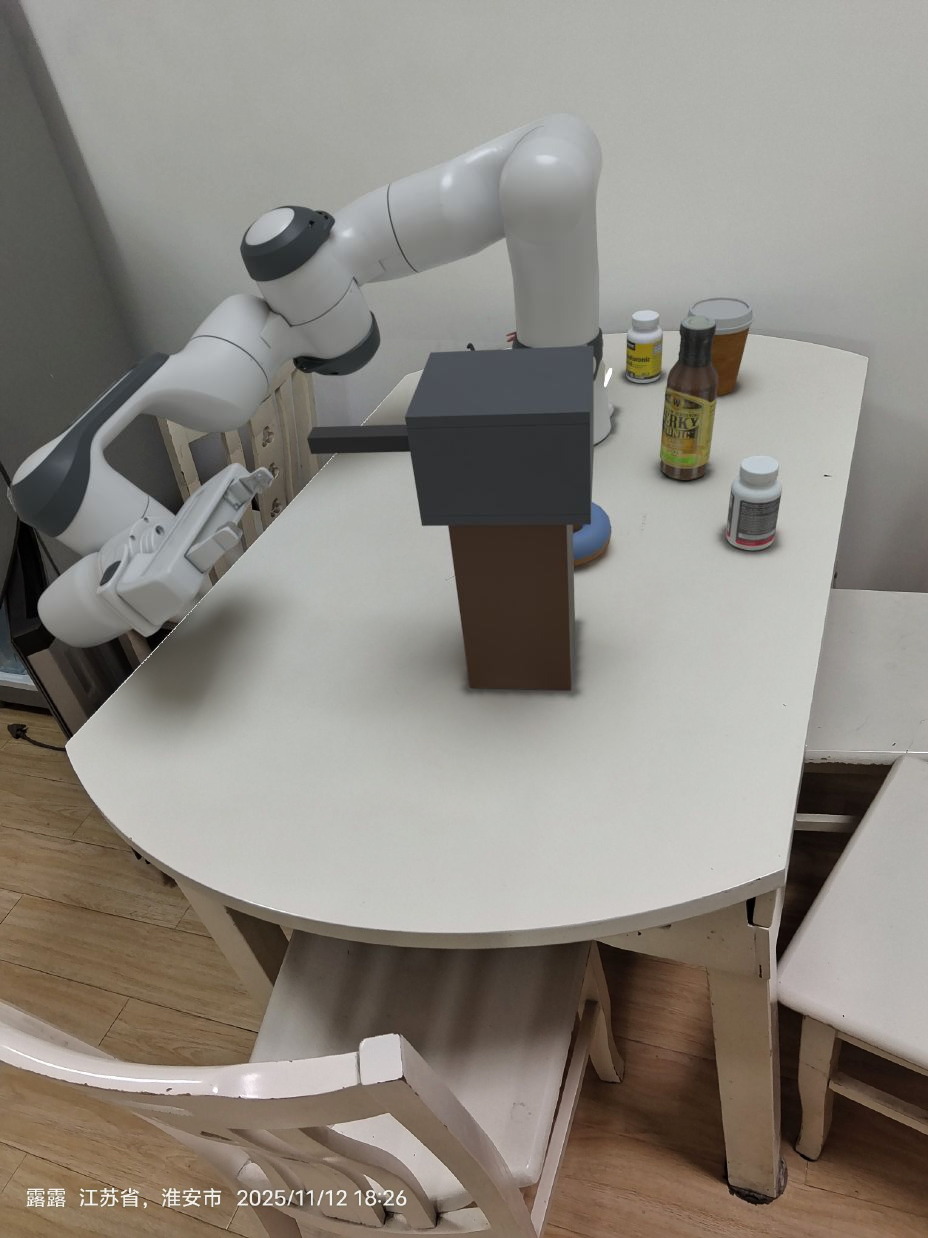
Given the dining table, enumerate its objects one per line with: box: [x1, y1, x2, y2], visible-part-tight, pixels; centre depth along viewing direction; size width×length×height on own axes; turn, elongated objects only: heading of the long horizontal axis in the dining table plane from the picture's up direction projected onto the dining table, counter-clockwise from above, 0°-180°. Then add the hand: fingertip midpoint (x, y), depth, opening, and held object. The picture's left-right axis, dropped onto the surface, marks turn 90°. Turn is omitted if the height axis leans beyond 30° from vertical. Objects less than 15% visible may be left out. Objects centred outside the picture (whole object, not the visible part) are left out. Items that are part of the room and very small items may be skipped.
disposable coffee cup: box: [684, 296, 755, 397], centre depth 125 cm, size 10×10×12 cm
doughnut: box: [573, 501, 612, 567], centre depth 100 cm, size 10×10×5 cm
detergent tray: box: [306, 423, 410, 455], centre depth 73 cm, size 23×10×7 cm, turn 82°
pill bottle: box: [725, 455, 783, 551], centre depth 96 cm, size 5×5×10 cm
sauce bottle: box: [659, 316, 718, 481], centre depth 105 cm, size 6×6×20 cm
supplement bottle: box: [625, 309, 664, 384], centre depth 131 cm, size 5×5×10 cm
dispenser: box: [404, 346, 595, 691], centre depth 78 cm, size 14×12×30 cm
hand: (252, 502), depth 80 cm, fingers open, 8 cm apart
